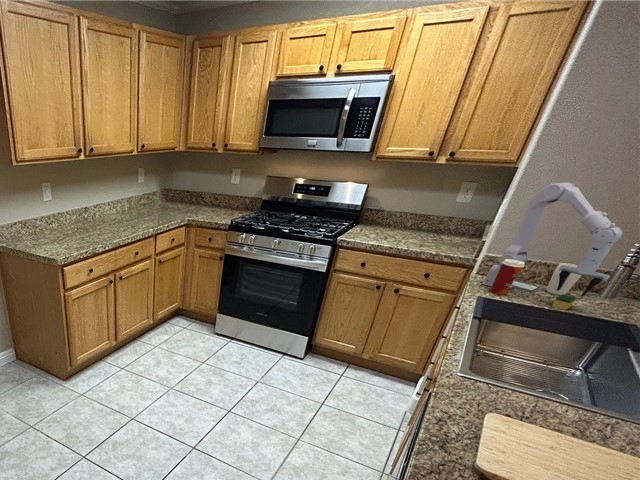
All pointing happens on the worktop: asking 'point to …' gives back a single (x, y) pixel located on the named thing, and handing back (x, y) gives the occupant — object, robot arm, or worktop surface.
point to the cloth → (523, 286)
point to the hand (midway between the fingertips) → (570, 292)
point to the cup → (567, 284)
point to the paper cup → (506, 276)
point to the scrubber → (563, 302)
